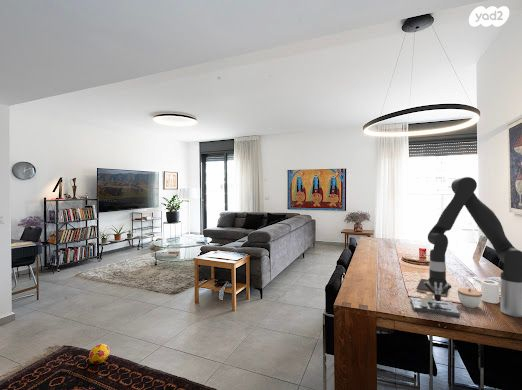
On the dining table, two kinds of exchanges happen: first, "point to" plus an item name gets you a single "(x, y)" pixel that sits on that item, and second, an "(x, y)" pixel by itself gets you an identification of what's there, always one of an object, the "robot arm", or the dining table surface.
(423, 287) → the hardcover book
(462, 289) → the lidded jar
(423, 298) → the fader
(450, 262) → the dining table surface
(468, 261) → the dining table surface
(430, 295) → the fader
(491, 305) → the dining table surface
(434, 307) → the console
